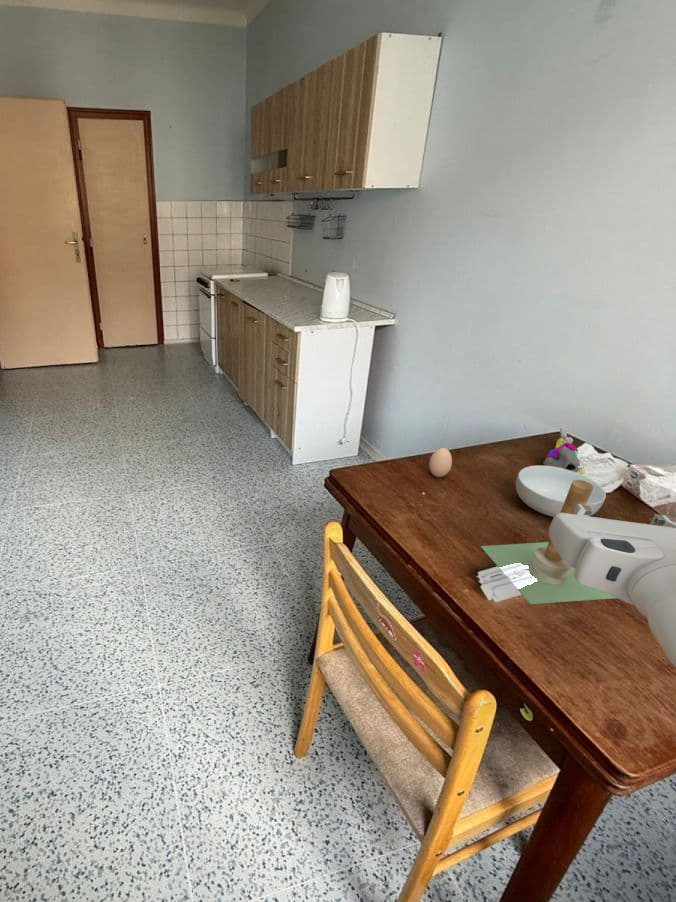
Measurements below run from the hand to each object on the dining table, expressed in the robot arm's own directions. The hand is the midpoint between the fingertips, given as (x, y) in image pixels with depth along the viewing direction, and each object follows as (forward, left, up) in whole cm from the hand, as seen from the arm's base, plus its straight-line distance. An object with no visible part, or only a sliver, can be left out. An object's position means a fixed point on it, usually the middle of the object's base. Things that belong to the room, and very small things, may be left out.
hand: (617, 513), depth 69 cm
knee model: (-38, -53, -23) cm, 70 cm away
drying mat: (-5, -12, -23) cm, 27 cm away
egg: (-1, -49, -23) cm, 55 cm away
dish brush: (-4, -11, -22) cm, 25 cm away
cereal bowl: (-20, -32, -23) cm, 45 cm away
